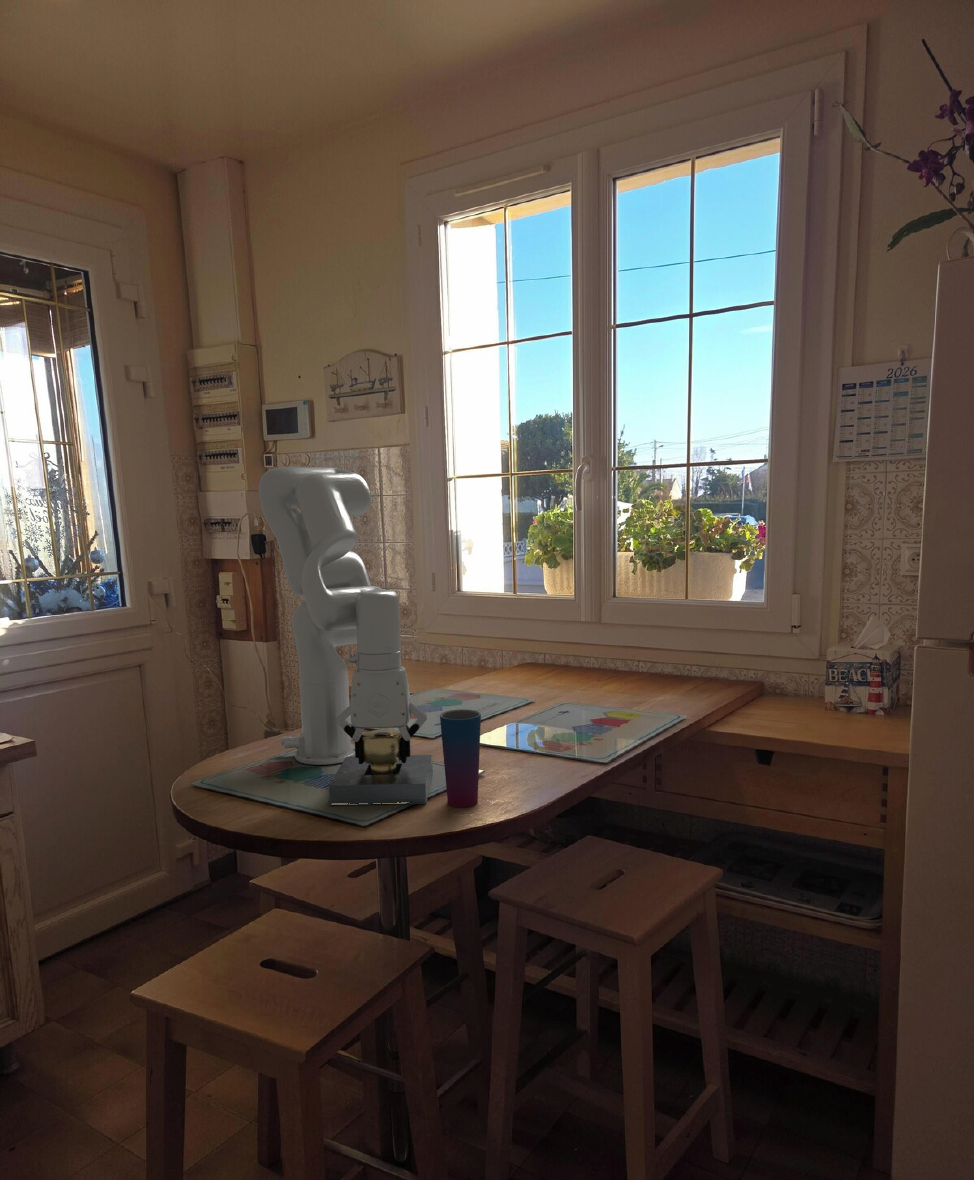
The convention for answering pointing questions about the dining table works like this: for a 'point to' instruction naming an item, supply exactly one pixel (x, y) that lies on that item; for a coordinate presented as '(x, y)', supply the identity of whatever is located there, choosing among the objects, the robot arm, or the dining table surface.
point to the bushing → (382, 750)
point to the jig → (382, 782)
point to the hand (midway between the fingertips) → (383, 760)
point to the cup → (461, 755)
